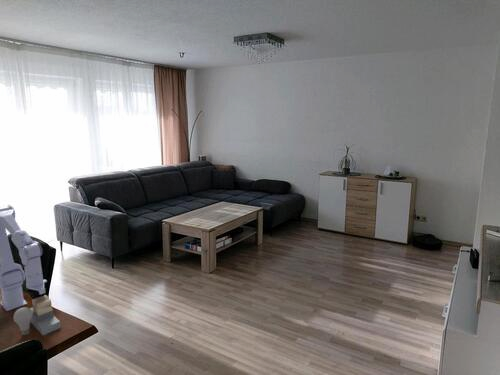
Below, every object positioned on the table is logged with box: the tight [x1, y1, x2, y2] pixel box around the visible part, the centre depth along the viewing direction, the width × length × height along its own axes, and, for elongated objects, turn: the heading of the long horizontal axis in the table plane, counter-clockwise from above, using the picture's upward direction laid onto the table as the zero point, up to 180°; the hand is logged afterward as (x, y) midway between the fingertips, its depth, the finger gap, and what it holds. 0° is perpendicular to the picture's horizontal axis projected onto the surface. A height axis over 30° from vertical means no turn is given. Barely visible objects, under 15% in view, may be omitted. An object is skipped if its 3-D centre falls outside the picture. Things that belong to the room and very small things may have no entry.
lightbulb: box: [13, 306, 33, 336], centre depth 137 cm, size 6×6×11 cm
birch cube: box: [31, 294, 53, 316], centre depth 143 cm, size 5×5×5 cm
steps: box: [28, 306, 62, 336], centre depth 144 cm, size 14×6×6 cm, turn 49°
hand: (38, 304), depth 146 cm, fingers closed
